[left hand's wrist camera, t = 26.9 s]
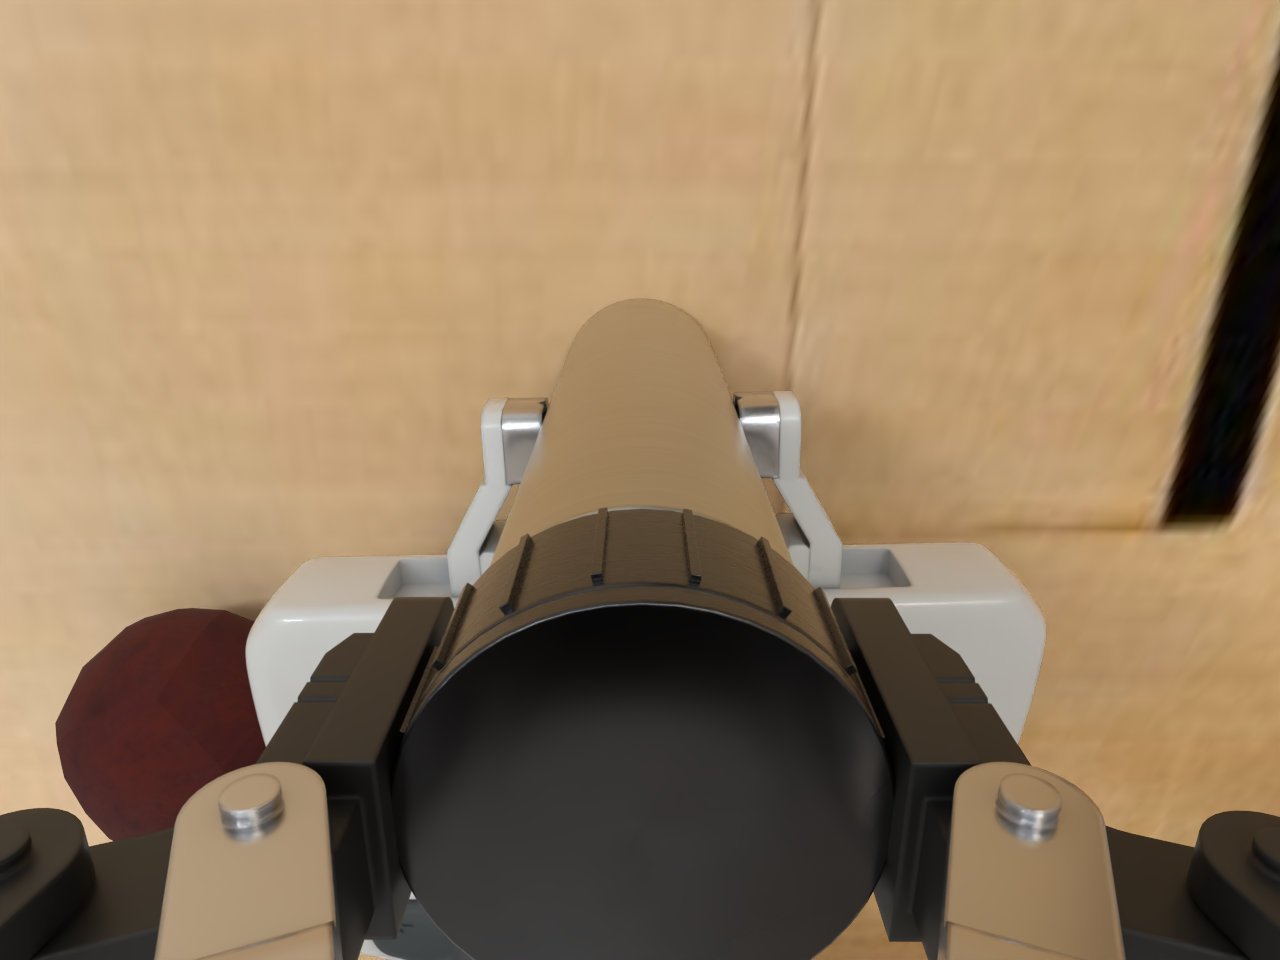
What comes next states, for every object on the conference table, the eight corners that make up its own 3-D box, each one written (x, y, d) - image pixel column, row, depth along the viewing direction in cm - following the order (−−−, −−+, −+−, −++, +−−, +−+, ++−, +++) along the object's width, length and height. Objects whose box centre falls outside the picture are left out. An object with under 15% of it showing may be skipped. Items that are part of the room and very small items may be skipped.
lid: (807, 451, 10) (854, 534, 8) (885, 814, 12) (942, 966, 10) (371, 561, 11) (300, 668, 8) (509, 894, 12) (481, 1055, 10)
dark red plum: (229, 786, 33) (125, 943, 26) (93, 625, 31) (-57, 754, 24) (392, 708, 32) (327, 852, 25) (265, 535, 30) (156, 643, 23)
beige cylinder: (544, 327, 27) (353, 662, 9) (689, 276, 27) (792, 526, 9) (596, 463, 29) (521, 981, 11) (735, 419, 28) (901, 882, 10)
